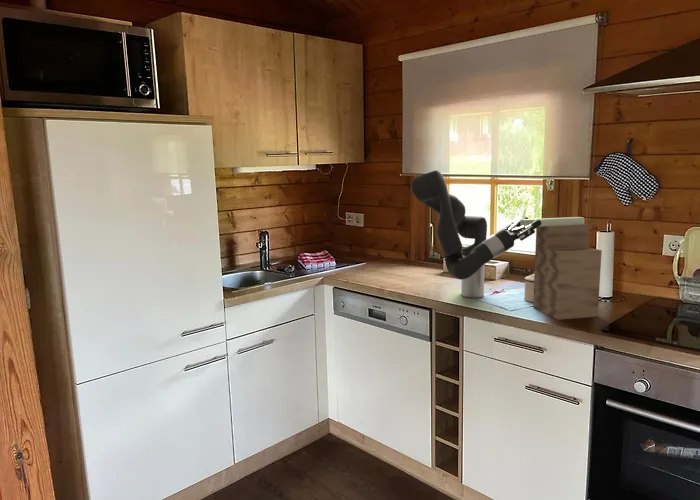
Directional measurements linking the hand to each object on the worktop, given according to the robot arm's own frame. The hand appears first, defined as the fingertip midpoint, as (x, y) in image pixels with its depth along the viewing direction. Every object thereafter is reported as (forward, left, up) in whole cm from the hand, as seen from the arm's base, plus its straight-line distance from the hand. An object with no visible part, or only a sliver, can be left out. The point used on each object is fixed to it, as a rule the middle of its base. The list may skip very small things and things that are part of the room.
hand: (533, 220), depth 192 cm
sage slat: (0, +7, -2) cm, 8 cm away
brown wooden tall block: (+4, +11, -34) cm, 36 cm away
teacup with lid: (-15, +11, -34) cm, 39 cm away
